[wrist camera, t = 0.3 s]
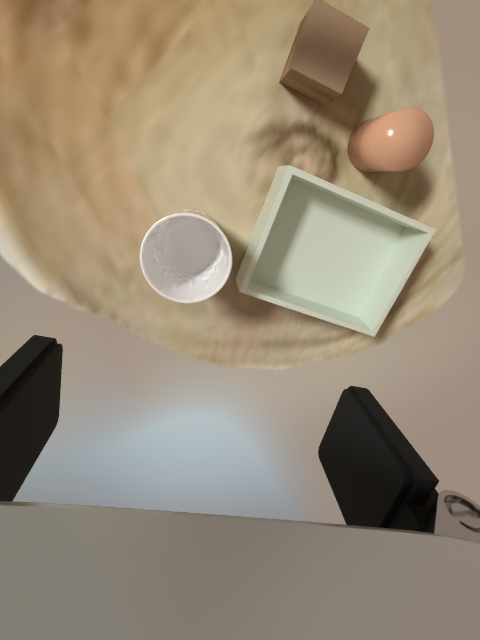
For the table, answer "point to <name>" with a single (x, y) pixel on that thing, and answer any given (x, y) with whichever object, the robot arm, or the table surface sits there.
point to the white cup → (186, 256)
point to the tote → (329, 252)
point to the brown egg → (391, 141)
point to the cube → (323, 53)
